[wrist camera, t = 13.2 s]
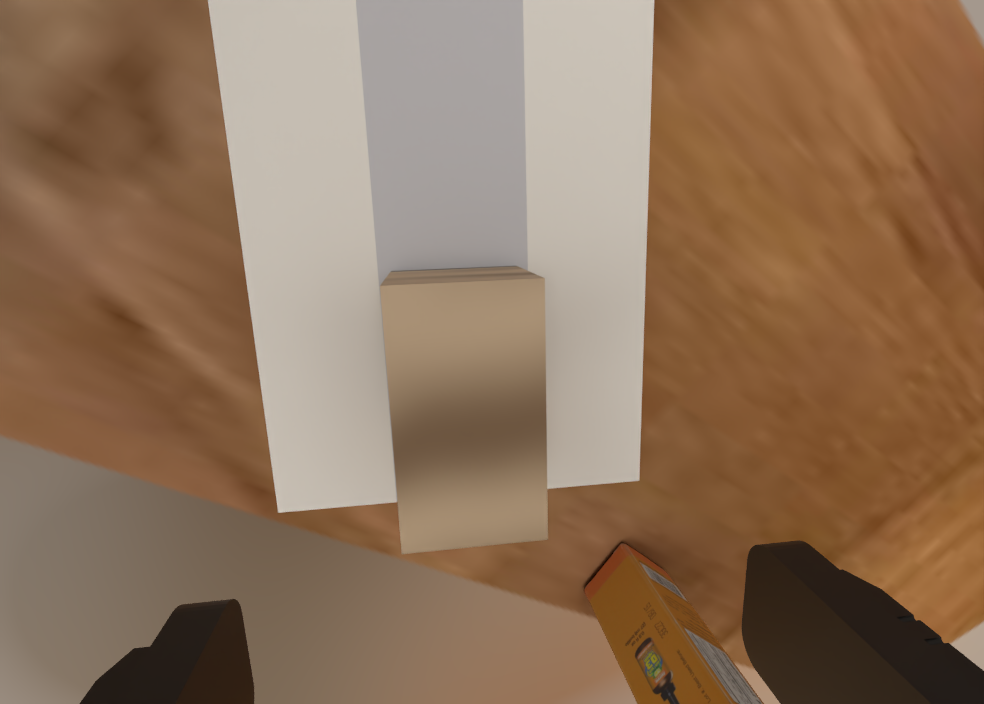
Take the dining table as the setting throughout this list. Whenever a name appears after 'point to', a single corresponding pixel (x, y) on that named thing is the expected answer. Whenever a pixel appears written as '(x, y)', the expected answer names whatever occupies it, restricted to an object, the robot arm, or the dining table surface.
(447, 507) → the block
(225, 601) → the robot arm
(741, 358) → the dining table surface
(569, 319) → the board
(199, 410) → the dining table surface
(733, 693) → the supplement box
